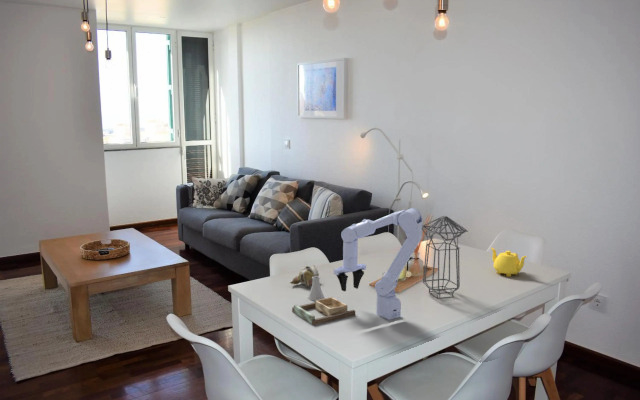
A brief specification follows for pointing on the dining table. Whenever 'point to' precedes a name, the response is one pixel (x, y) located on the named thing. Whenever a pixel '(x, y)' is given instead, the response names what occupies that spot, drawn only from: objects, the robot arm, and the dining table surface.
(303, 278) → the ceramic sculpture
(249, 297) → the dining table surface
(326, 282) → the dining table surface
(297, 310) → the bay
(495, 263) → the teapot
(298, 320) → the dining table surface
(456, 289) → the geometric lantern
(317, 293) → the flask
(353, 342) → the dining table surface
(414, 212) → the robot arm
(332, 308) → the light wooden drawer
